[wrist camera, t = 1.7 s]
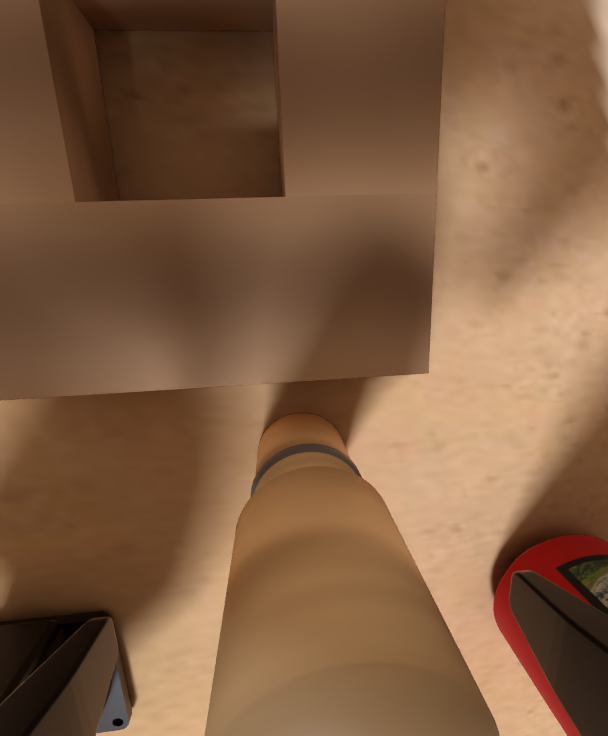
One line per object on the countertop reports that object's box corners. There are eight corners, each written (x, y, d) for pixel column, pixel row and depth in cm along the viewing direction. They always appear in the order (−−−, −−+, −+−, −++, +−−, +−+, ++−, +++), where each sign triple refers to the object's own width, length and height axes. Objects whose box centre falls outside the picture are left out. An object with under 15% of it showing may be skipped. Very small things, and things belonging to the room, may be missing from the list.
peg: (353, 495, 15) (487, 854, 6) (252, 504, 15) (213, 899, 5) (352, 400, 14) (514, 642, 5) (243, 407, 14) (177, 684, 4)
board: (396, 354, 14) (428, 373, 11) (27, 376, 13) (-43, 403, 10) (408, -185, 10) (462, -370, 7) (-112, -213, 9) (-290, -442, 6)
